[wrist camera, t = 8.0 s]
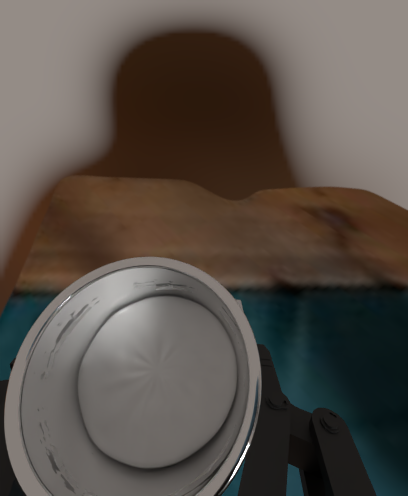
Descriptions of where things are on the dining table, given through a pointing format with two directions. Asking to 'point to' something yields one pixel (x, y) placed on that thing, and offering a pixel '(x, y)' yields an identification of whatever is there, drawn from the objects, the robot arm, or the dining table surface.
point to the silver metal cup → (134, 386)
